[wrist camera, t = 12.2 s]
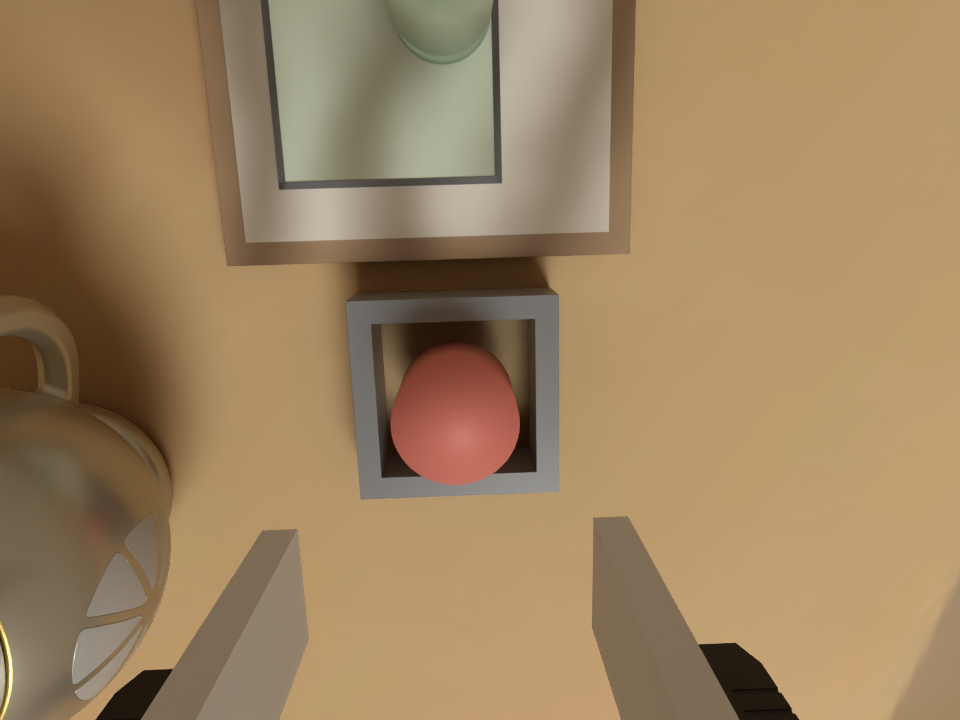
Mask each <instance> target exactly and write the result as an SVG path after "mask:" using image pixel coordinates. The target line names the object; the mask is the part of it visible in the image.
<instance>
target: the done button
mask: <svg viewBox="0 0 960 720" xmlns="http://www.w3.org/2000/svg"><path fill="white" fill-rule="evenodd" d="M519 431H520V417H519V411H518V407H517V403H516V400H515V396H514V393H513V389H512V386H511V382H510V379H509V376H508V374H507V372H506V370H505V368H504V366H503V365H502V364H501V362H500V361H499V360H498V359H497V358H496V357H495V356H494V355H493V354H491V353H490V352H489V351H487V350H486V349H484V348H482V347H480V346H478V345H475V344H471V343H467V342H456V341H454V342H446V343H441V344H438V345H435V346H433V347H431V348H429V349H427V350H425V351H424V352H423V353H421V354H420V355H419V356H418V357H417V358H416V359H415V360H414V361H413V362H412V363H411V365H410V366H409V368H408V369H407V371H406V374H405V376H404V378H403V381H402V384H401V386H400V389H399V391H398V394H397V397H396V399H395V402H394V405H393V409H392V413H391V434H392V438H393V442H394V445H395V447H396V449H397V451H398V453H399V455H400V456H401V458H402V459H403V460H404V462H405V463H406V464H407V465H408V466H409V467H410V468H411V469H412V470H414V471H415V472H416V473H418V474H419V475H421V476H423V477H424V478H426V479H429V480H431V481H434V482H437V483H441V484H447V485H463V484H469V483H474V482H477V481H479V480H482V479H484V478H486V477H488V476H490V475H491V474H493V473H494V472H496V471H497V470H498V469H499V468H500V467H501V466H502V465H503V464H504V463H505V462H506V461H507V460H508V458H509V457H510V455H511V454H512V452H513V450H514V448H515V446H516V443H517V440H518V436H519Z"/></svg>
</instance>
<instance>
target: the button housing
mask: <svg viewBox="0 0 960 720" xmlns="http://www.w3.org/2000/svg"><path fill="white" fill-rule="evenodd" d="M346 315H347V328H348V341H349V354H350V367H351V380H352V393H353V406H354V418H355V431H356V444H357V457H358V470H359V483H360V496H361V499H384V498H410V497H437V496H463V495H490V494H516V493H542V492H559V295H558V294H557V293H556V292H555V291H553V290H552V289H551V288H550V287H536V288H504V289H473V290H441V291H410V292H379V293H357V294H355V295H354V296H353V297H351V298H350V299H348V300H347V301H346ZM517 319H528V327H529V411H530V448H524V449H514V450H513V452H512V454H511V455H510V457H509V458H508V460H507V461H506V462H505V463H504V464H503V465H502V466H501V467H500V468H499V469H498V470H497V471H496V472H494V473H493V474H491V475H490V476H488V477H486V478H484V479H482V480H479V481H477V482H474V483H469V484H463V485H447V484H441V483H437V482H434V481H431V480H429V479H426V478H424V477H423V476H421V475H419V474H418V473H416V472H415V471H414V470H412V469H411V468H410V467H409V466H408V465H407V464H406V463H405V462H404V460H403V459H402V458H401V456H400V455H399V453H389V442H388V427H387V411H386V396H385V381H384V365H383V350H382V335H381V324H395V323H425V322H456V321H486V320H517Z"/></svg>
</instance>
